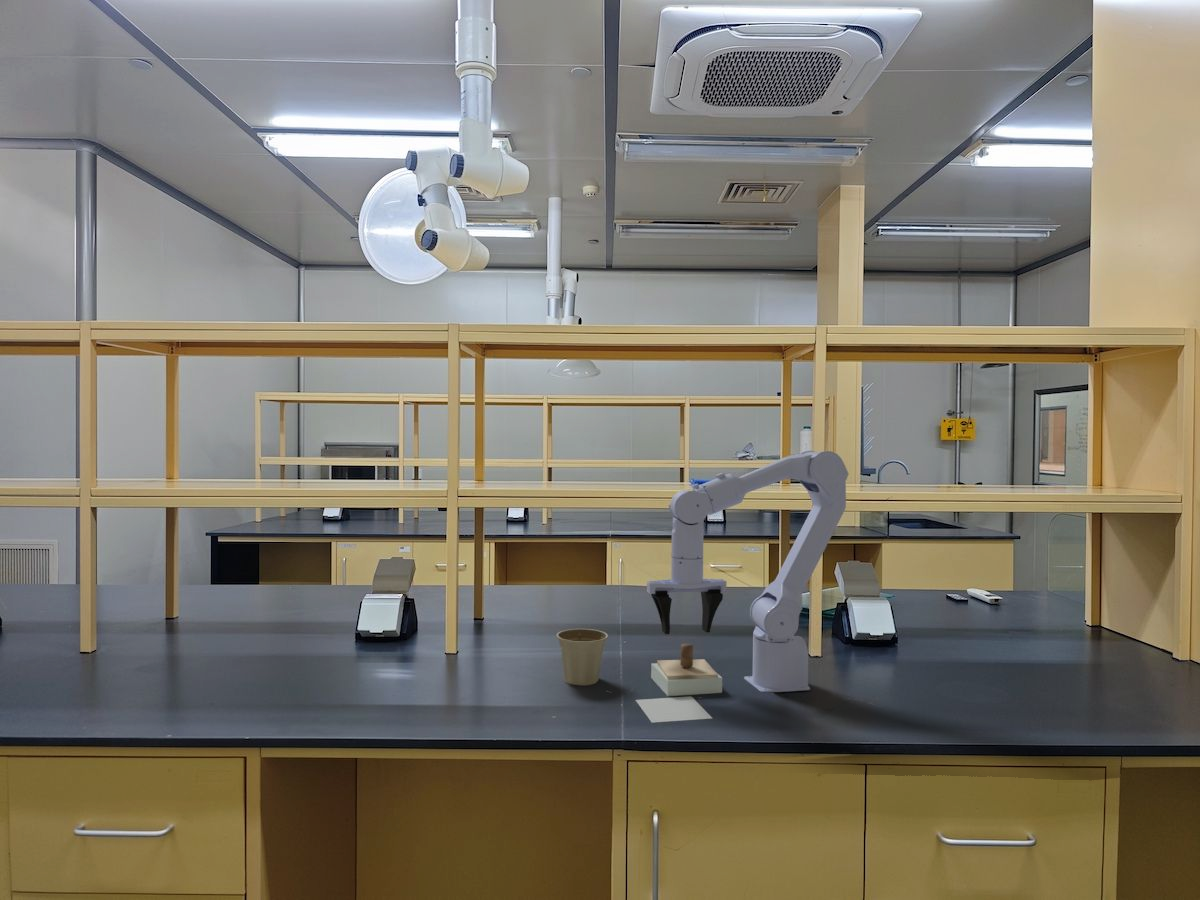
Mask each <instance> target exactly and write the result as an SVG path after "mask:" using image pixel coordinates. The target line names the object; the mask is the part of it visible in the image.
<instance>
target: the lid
mask: <svg viewBox="0 0 1200 900" xmlns="http://www.w3.org/2000/svg"><path fill="white" fill-rule="evenodd" d="M656 663H657V664H658V666H659V667H660V669H661V670H662V672H663V673H664V675H665V676H666V678H667V679H697V678H718V673H717V672H716V671H715V669H714V668H712V666H711V665H710V664H709V663H708V662H707V661H706V659H704V658H703V659H701V658H699V659H694V645H693V644H692V643H686V642H685V643H681V644H680V659H665V660H664V659H657V660H656Z"/></svg>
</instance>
